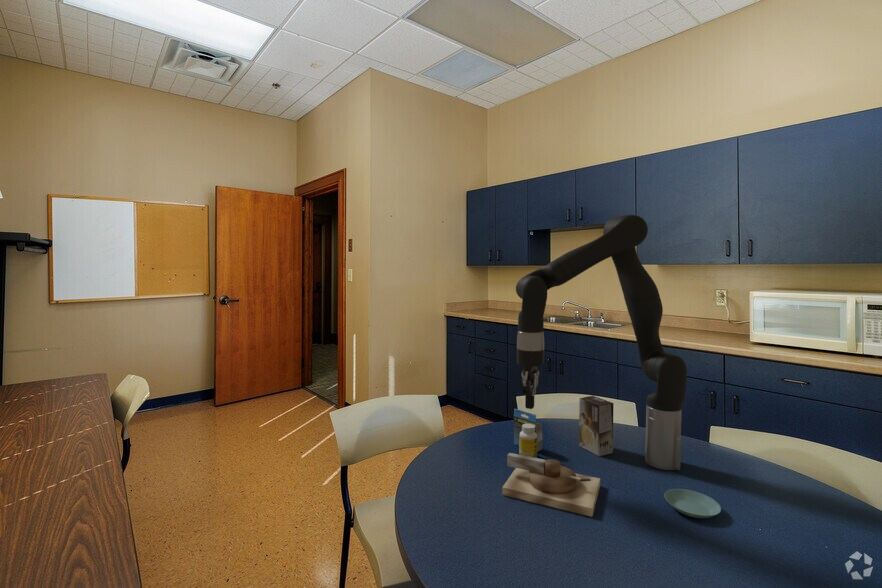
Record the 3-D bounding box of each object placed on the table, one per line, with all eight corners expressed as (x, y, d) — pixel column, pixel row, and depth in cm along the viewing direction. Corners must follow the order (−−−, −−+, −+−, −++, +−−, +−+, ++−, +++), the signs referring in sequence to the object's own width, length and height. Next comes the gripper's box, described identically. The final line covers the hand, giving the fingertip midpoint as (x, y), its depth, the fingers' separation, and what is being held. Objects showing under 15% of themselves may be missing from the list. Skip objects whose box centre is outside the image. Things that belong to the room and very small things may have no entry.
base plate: (600, 485, 114) (600, 477, 114) (592, 516, 100) (592, 507, 100) (519, 468, 124) (519, 461, 124) (502, 494, 110) (502, 486, 110)
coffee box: (614, 453, 135) (615, 403, 134) (598, 456, 132) (599, 405, 131) (592, 442, 143) (593, 395, 142) (577, 445, 140) (578, 397, 139)
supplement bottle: (537, 461, 129) (537, 429, 128) (519, 459, 130) (519, 428, 129) (536, 453, 134) (537, 423, 134) (519, 452, 135) (519, 422, 135)
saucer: (719, 505, 105) (719, 496, 105) (722, 530, 95) (722, 520, 95) (665, 492, 111) (665, 484, 111) (662, 515, 101) (662, 505, 101)
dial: (583, 477, 114) (583, 458, 114) (576, 498, 103) (576, 478, 103) (514, 462, 123) (514, 445, 122) (501, 481, 112) (501, 462, 112)
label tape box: (542, 449, 137) (543, 412, 137) (535, 453, 135) (536, 415, 134) (520, 441, 144) (520, 405, 143) (513, 445, 141) (513, 408, 140)
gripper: (538, 352, 112) (537, 417, 113) (549, 344, 124) (548, 403, 125) (510, 350, 115) (509, 413, 116) (523, 342, 127) (523, 399, 128)
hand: (529, 407), depth 121 cm, fingers closed
